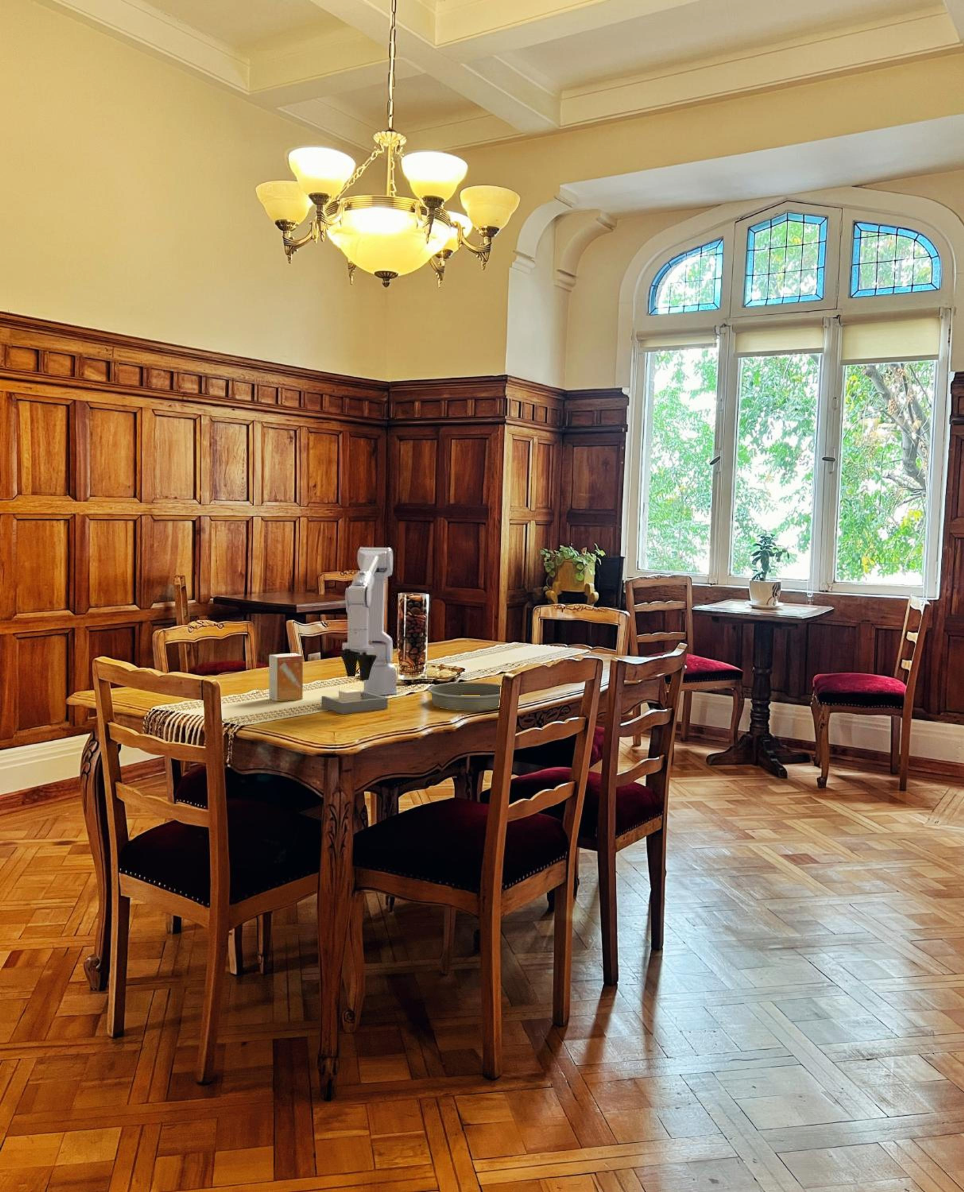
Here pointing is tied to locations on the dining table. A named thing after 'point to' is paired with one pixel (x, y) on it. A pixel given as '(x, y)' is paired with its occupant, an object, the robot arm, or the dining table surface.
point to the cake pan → (452, 698)
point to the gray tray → (356, 704)
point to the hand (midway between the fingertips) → (357, 678)
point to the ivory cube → (349, 695)
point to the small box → (286, 677)
